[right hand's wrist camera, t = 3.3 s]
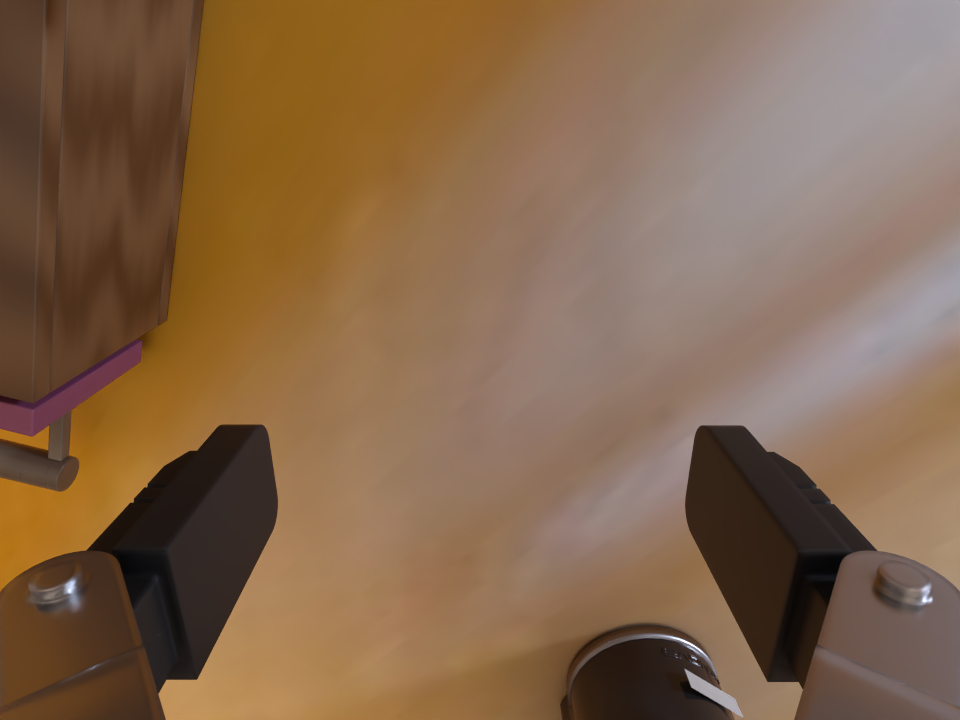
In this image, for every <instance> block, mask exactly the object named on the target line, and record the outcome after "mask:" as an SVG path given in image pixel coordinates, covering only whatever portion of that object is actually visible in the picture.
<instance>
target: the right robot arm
mask: <svg viewBox="0 0 960 720" xmlns="http://www.w3.org/2000/svg"><path fill="white" fill-rule="evenodd" d="M277 509H278V497H277V490H276V483H275V476H274V469H273V463H272V456H271V449H270V442H269V436H268V432H267V430H266V428H265V427H264V426H263V425H220V426H218V427H217V428H216V429H215V431H214V432H213V433H212V434H211V435H210V436H209V438H208V439H207V440H206V441H205V442H204V443H203V445H202V446H201V447H200V448H199V449H198V450H197V451H189V452H187V453H185V454H184V455H182V456H180V457H179V458H177V459H175V460H174V461H172V462H170V463H169V464H167V465H165V466H164V467H163V468H162V469H161V470H160V471H159V472H158V473H157V474H156V476H155V477H154V478H153V479H152V480H151V481H150V482H149V483H148V487H147V488H144V489H143V490H142V491H141V492H140V493H139V494H138V495H137V496H136V497H135V498H134V503H130V504H129V505H128V506H127V507H126V508H125V509H124V510H123V511H122V512H121V514H120V515H119V516H118V517H117V518H116V519H115V520H114V521H113V522H112V523H111V524H110V526H109V527H108V528H107V529H106V530H105V531H104V532H103V533H102V534H101V535H100V536H99V537H98V539H97V540H96V541H95V542H94V543H93V544H92V545H91V546H90V547H89V548H88V549H87V550H86V551H79V552H73V553H68V554H64V555H61V556H57V557H54V558H52V559H49V560H46V561H44V562H42V563H39V564H37V565H35V566H33V567H31V568H30V569H28V570H26V571H24V572H23V573H21V574H20V575H18V576H17V577H15V578H14V579H13V580H12V581H11V582H9V583H8V584H7V585H6V586H5V587H4V588H3V589H2V590H1V591H0V720H166V719H165V716H164V712H163V709H162V705H161V702H160V698H159V695H158V694H159V692H160V690H161V688H162V686H163V685H164V683H165V681H166V680H197V679H198V677H199V675H200V673H201V671H202V669H203V667H204V665H205V663H206V661H207V659H208V657H209V655H210V653H211V651H212V649H213V647H214V645H215V643H216V641H217V639H218V637H219V635H220V633H221V631H222V630H223V628H224V626H225V624H226V622H227V620H228V618H229V616H230V614H231V612H232V610H233V608H234V606H235V604H236V602H237V600H238V598H239V596H240V594H241V592H242V590H243V588H244V586H245V584H246V582H247V580H248V578H249V576H250V574H251V573H252V571H253V569H254V567H255V565H256V563H257V561H258V559H259V557H260V555H261V553H262V551H263V549H264V547H265V545H266V543H267V541H268V539H269V537H270V535H271V533H272V531H273V529H274V526H275V522H276V518H277ZM685 509H686V518H687V523H688V527H689V530H690V532H691V534H692V536H693V538H694V540H695V542H696V544H697V546H698V548H699V550H700V552H701V553H702V555H703V557H704V559H705V561H706V563H707V565H708V567H709V569H710V571H711V573H712V575H713V577H714V579H715V581H716V583H717V585H718V586H719V588H720V590H721V592H722V594H723V596H724V598H725V600H726V602H727V604H728V606H729V608H730V610H731V612H732V614H733V616H734V618H735V619H736V621H737V623H738V625H739V627H740V629H741V631H742V633H743V635H744V637H745V639H746V641H747V643H748V645H749V647H750V649H751V651H752V653H753V654H754V656H755V658H756V660H757V662H758V664H759V666H760V668H761V670H762V672H763V674H764V676H765V678H766V680H767V682H799V683H800V685H801V687H802V689H803V692H802V695H801V698H800V702H799V705H798V709H797V712H796V716H795V719H794V720H960V591H959V590H958V589H957V588H956V587H955V586H954V585H953V584H952V583H951V582H949V581H948V580H947V579H946V578H945V577H943V576H942V575H940V574H939V573H937V572H936V571H934V570H932V569H930V568H929V567H927V566H925V565H923V564H921V563H918V562H916V561H914V560H911V559H908V558H906V557H903V556H899V555H896V554H892V553H887V552H881V551H877V550H876V549H875V548H874V547H873V546H872V544H871V543H870V542H869V541H868V540H867V539H866V538H865V537H864V536H863V535H862V534H861V533H860V532H859V530H858V529H857V528H856V527H855V526H854V525H853V524H852V523H851V522H850V521H849V520H848V519H847V518H846V517H845V515H844V514H843V513H842V512H841V511H840V510H839V509H838V508H837V507H836V506H835V505H834V504H831V503H830V499H829V498H828V497H827V496H826V495H825V494H824V493H823V492H822V491H821V490H820V489H817V488H816V484H815V483H814V482H813V481H812V480H811V479H810V478H809V477H808V476H807V475H806V473H805V472H804V471H803V470H802V469H801V468H800V467H798V466H797V465H795V464H793V463H792V462H790V461H788V460H787V459H785V458H783V457H782V456H780V455H778V454H777V453H775V452H766V450H765V449H764V448H763V447H762V446H761V445H760V443H759V442H758V441H757V440H756V439H755V438H754V437H753V435H752V434H751V433H750V432H749V431H748V430H747V429H746V428H745V427H744V426H700V427H699V428H698V429H697V431H696V434H695V438H694V445H693V451H692V458H691V465H690V471H689V478H688V485H687V491H686V499H685ZM719 684H720V683H719V680H718V677H717V673H716V671H715V668H714V666H713V664H712V661H711V659H710V657H709V655H708V654H707V652H706V651H705V649H704V648H703V647H702V646H701V645H700V644H699V643H698V642H697V641H695V640H694V639H693V638H691V637H689V636H688V635H686V634H684V633H681V632H679V631H676V630H673V629H669V628H664V627H657V626H637V627H630V628H625V629H621V630H617V631H614V632H611V633H609V634H607V635H604V636H602V637H600V638H599V639H597V640H595V641H594V642H592V643H591V644H590V645H588V646H587V647H586V648H585V649H584V650H583V651H582V652H581V653H580V654H579V655H578V656H577V657H576V659H575V660H574V662H573V664H572V665H571V667H570V670H569V673H568V677H567V694H568V695H567V697H566V698H565V700H564V701H563V702H562V703H561V704H560V706H561V713H562V720H735V719H734V717H733V715H732V712H731V711H733V712H734V713H736V714H738V715H739V716H741V717H743V716H742V713H741V711H740V709H739V707H738V704H737V702H736V700H735V698H733V697H731V696H730V695H728V694H726V693H725V692H723V691H722V689H721V687H720V685H719Z"/></svg>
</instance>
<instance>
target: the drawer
mask: <svg viewBox="0 0 960 720" xmlns="http://www.w3.org/2000/svg"><path fill="white" fill-rule="evenodd" d="M141 351H142V341H141V340H138V339H136V340H134V341H133V342H131V343H129V344H128V345H126V346H125V347H123V348H121V349H120V350H118V351H116V352H115V353H113V354H112V355H110V356H108V357H107V358H105V359H104V360H102V361H100V362H99V363H97V364H96V365H94V366H92V367H91V368H89V369H87V370H86V371H84V372H83V373H81V374H79V375H78V376H76V377H75V378H73V379H71V380H70V381H68V382H66V383H65V384H63V385H62V386H60V387H58V388H57V389H55V390H54V391H52V392H49V394H48V395H46V396H44V397H43V398H41V399H39V400H38V401H36V402H35V403H29V402H25V401H21V400H17V399H13V398H9V397H5V396H2V395H0V429H3V430H7V431H11V432H16V433H20V434H24V435H28V436H34V435H36V434H37V433H39V432H40V431H41V430H43V429H44V428H46V427H47V426H49V425H50V427H49V449H48V450H45V449H41V448H37V447H33V446H28V445H24V444H20V443H16V442H12V441H8V440H4V439H0V478H5V479H9V480H13V481H17V482H21V483H25V484H30V485H34V486H38V487H42V488H46V489H51V490H55V491H59V492H61V491H65V490H66V489H67V488H69V487H70V485H71V484H72V483H73V481H74V480H75V478H76V475H77V473H78V469H79V460H78V459H77V458H76V457H73V456H69V445H70V428H71V411H72V409H73V408H75V407H76V406H78V405H79V404H80V403H82V402H83V401H85V400H86V399H88V398H89V397H91V396H92V395H93V394H95V393H96V392H98V391H99V390H101V389H102V388H103V387H105V386H106V385H108V384H109V383H111V382H112V381H114V380H115V379H116V378H118V377H119V376H121V375H122V374H124V373H125V372H127V371H128V370H129V369H131V368H132V367H134V366H135V365H137V364H138V363H140V361H141Z"/></svg>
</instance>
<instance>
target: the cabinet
mask: <svg viewBox="0 0 960 720" xmlns="http://www.w3.org/2000/svg"><path fill="white" fill-rule="evenodd" d="M203 1H204V0H0V395H2V396H5V397H9V398H13V399H17V400H21V401H25V402H29V403H35V402H36V401H38V400H39V399H41V398H43V397H44V396H46V395H48V394H49V392H52V391H54V390H55V389H57V388H58V387H60V386H62V385H63V384H65V383H66V382H68V381H70V380H71V379H73V378H75V377H76V376H78V375H79V374H81V373H83V372H84V371H86V370H87V369H89V368H91V367H92V366H94V365H96V364H97V363H99V362H100V361H102V360H104V359H105V358H107V357H108V356H110V355H112V354H113V353H115V352H116V351H118V350H120V349H121V348H123V347H125V346H126V345H128V344H129V343H131V342H133V341H134V340H136V339H137V338H139V337H141V336H142V335H144V334H146V333H147V332H149V331H150V330H152V329H154V328H155V327H157V326H158V325H160V324H162V323H163V322H165V321H166V320H167V311H168V303H169V294H170V285H171V277H172V268H173V260H174V251H175V242H176V234H177V225H178V217H179V208H180V199H181V191H182V182H183V173H184V165H185V156H186V148H187V139H188V130H189V122H190V113H191V104H192V96H193V87H194V79H195V70H196V61H197V53H198V44H199V36H200V27H201V18H202V10H203Z"/></svg>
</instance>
